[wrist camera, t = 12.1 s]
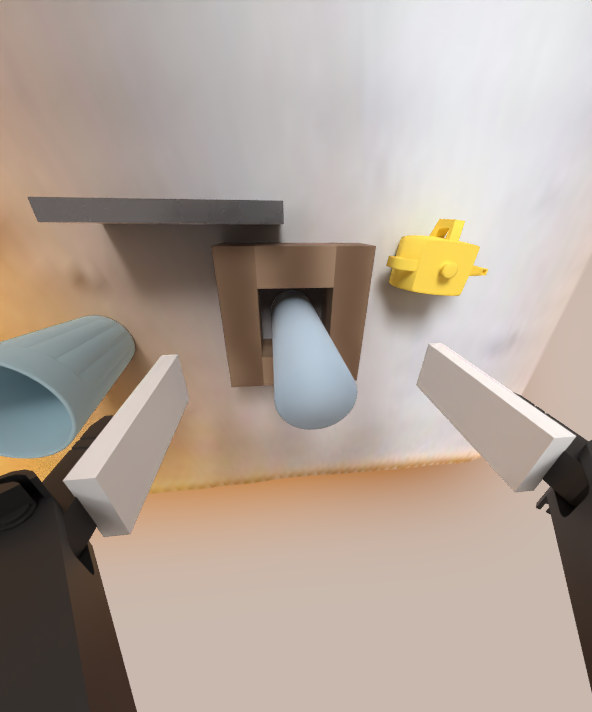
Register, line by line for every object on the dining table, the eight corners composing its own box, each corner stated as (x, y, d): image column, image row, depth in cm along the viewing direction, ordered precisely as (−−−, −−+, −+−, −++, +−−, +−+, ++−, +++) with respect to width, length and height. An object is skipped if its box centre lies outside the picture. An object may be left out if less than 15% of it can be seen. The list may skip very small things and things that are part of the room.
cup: (39, 336, 23) (-115, 409, 14) (91, 285, 21) (-43, 330, 12) (113, 387, 26) (30, 474, 17) (163, 346, 24) (101, 418, 15)
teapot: (470, 226, 22) (522, 225, 18) (445, 290, 25) (485, 304, 20) (387, 214, 21) (421, 211, 16) (371, 283, 24) (395, 296, 19)
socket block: (236, 365, 26) (231, 387, 23) (221, 243, 21) (211, 246, 17) (345, 360, 27) (356, 380, 24) (358, 243, 22) (375, 246, 18)
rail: (101, 223, 19) (38, 222, 14) (95, 205, 19) (27, 196, 13) (279, 224, 20) (283, 223, 15) (279, 208, 20) (283, 200, 15)
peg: (272, 330, 25) (276, 432, 12) (270, 290, 23) (272, 364, 11) (310, 329, 25) (352, 426, 13) (312, 289, 23) (362, 360, 11)
